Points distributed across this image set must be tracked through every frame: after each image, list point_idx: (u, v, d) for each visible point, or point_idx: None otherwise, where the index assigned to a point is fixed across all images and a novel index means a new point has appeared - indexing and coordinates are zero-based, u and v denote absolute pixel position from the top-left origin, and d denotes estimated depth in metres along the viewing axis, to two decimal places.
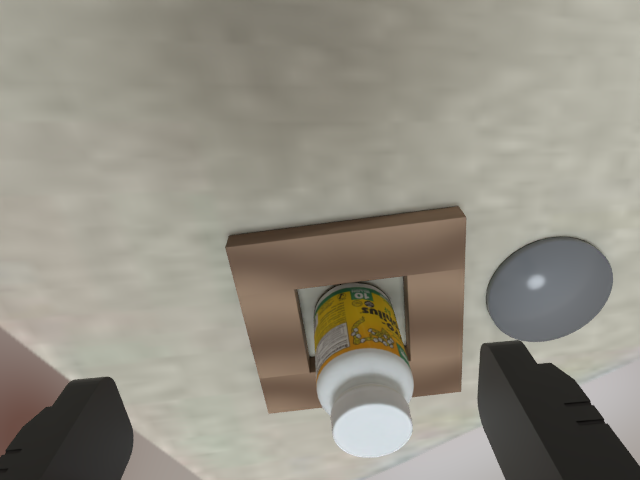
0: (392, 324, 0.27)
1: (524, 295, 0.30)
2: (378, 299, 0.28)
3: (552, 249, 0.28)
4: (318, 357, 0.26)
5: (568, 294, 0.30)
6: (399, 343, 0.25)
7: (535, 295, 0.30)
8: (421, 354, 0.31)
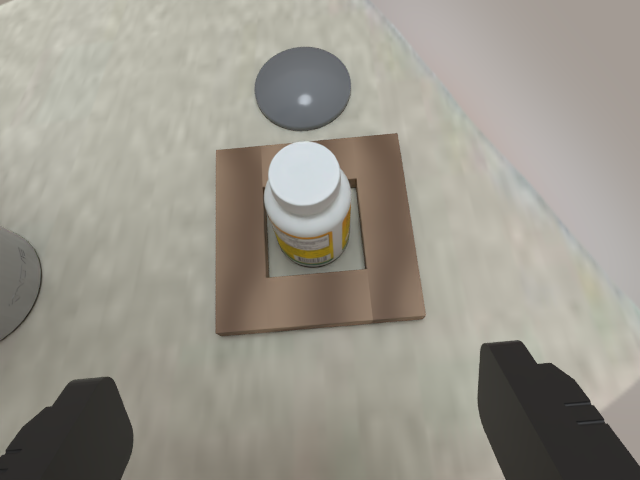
0: None
1: (301, 102, 0.37)
2: None
3: (260, 92, 0.37)
4: (292, 242, 0.28)
5: (303, 73, 0.38)
6: None
7: (302, 95, 0.37)
8: (349, 170, 0.34)
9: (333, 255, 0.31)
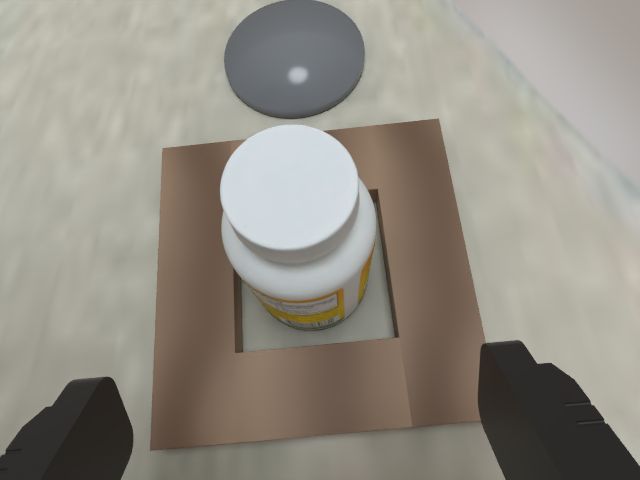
0: None
1: (292, 77, 0.25)
2: None
3: (233, 63, 0.26)
4: (273, 303, 0.16)
5: (295, 35, 0.26)
6: None
7: (293, 66, 0.25)
8: (366, 176, 0.22)
9: (344, 314, 0.19)
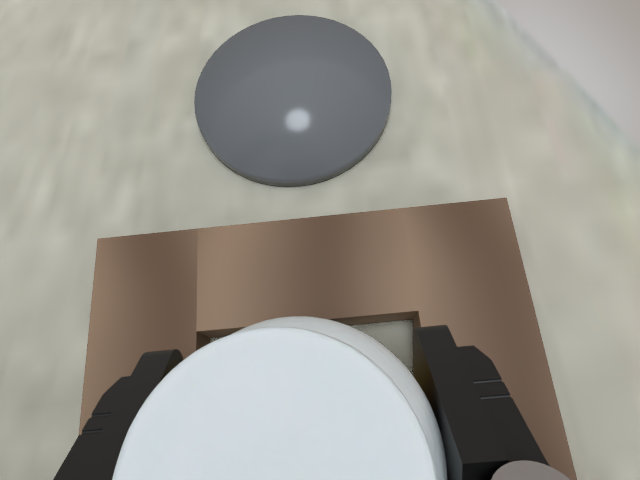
0: None
1: (289, 127, 0.18)
2: None
3: (206, 106, 0.18)
4: None
5: (293, 67, 0.19)
6: None
7: (291, 111, 0.18)
8: (399, 289, 0.14)
9: None
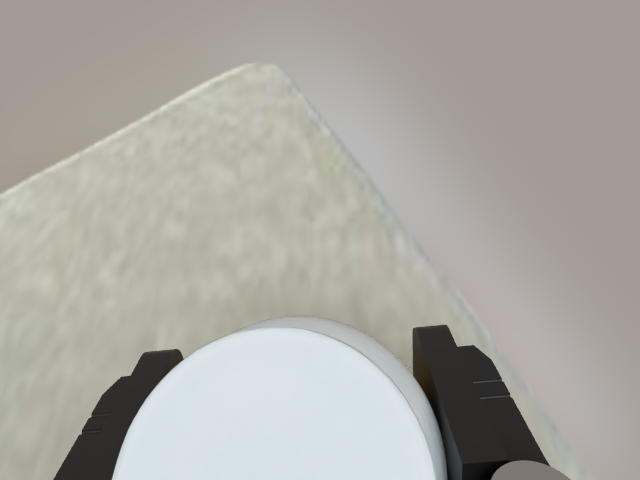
0: None
1: None
2: None
3: None
4: None
5: None
6: None
7: None
8: None
9: None
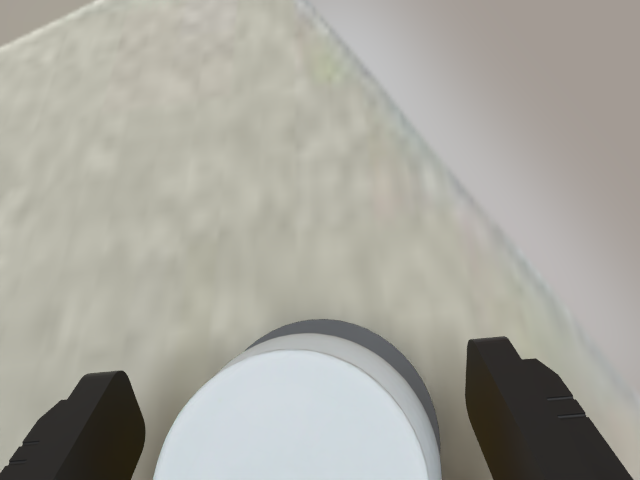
0: None
1: None
2: None
3: None
4: None
5: None
6: None
7: None
8: None
9: None
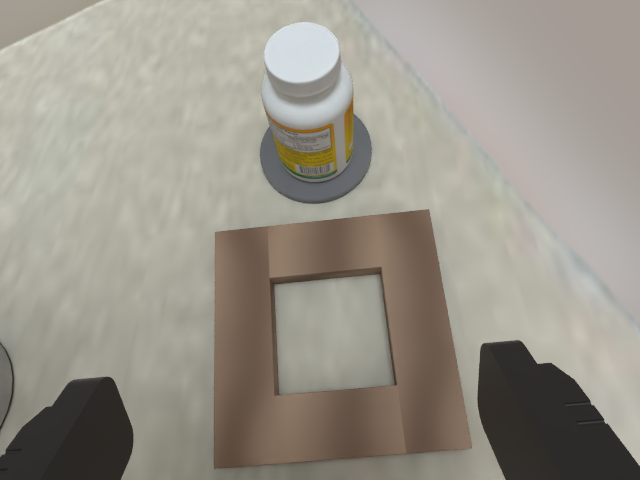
0: None
1: None
2: None
3: (267, 157, 0.32)
4: (292, 140, 0.26)
5: None
6: None
7: None
8: (372, 256, 0.28)
9: (336, 166, 0.30)
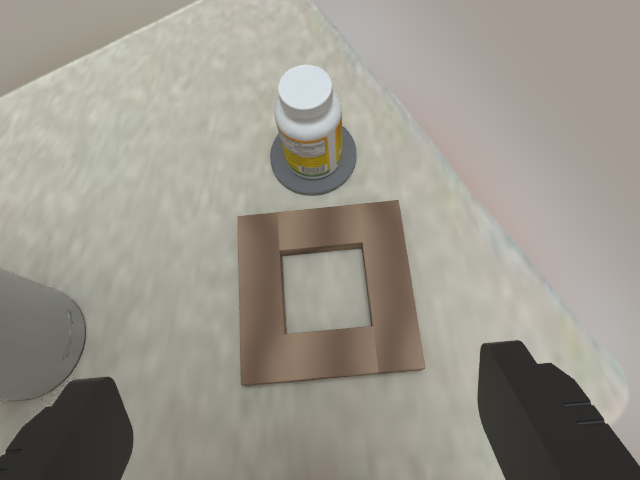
0: None
1: None
2: None
3: (276, 160, 0.42)
4: (296, 148, 0.36)
5: None
6: None
7: None
8: (356, 234, 0.38)
9: (329, 167, 0.39)
